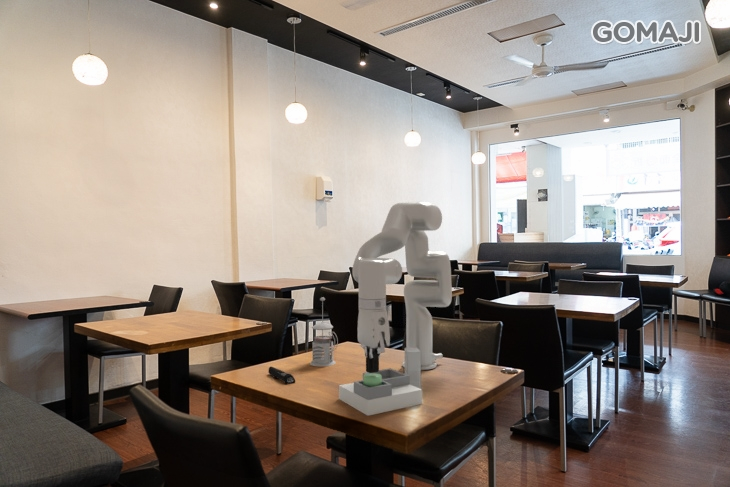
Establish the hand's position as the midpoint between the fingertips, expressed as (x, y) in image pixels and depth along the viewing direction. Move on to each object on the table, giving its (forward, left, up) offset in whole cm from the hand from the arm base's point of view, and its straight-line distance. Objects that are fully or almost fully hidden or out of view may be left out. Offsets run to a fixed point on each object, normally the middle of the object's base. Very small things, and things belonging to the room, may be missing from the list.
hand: (372, 371), depth 133 cm
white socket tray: (-5, -4, -10) cm, 12 cm away
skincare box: (-21, -10, -10) cm, 26 cm away
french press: (-11, -52, -10) cm, 54 cm away
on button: (0, 0, -4) cm, 4 cm away
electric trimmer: (+11, -41, -11) cm, 44 cm away
